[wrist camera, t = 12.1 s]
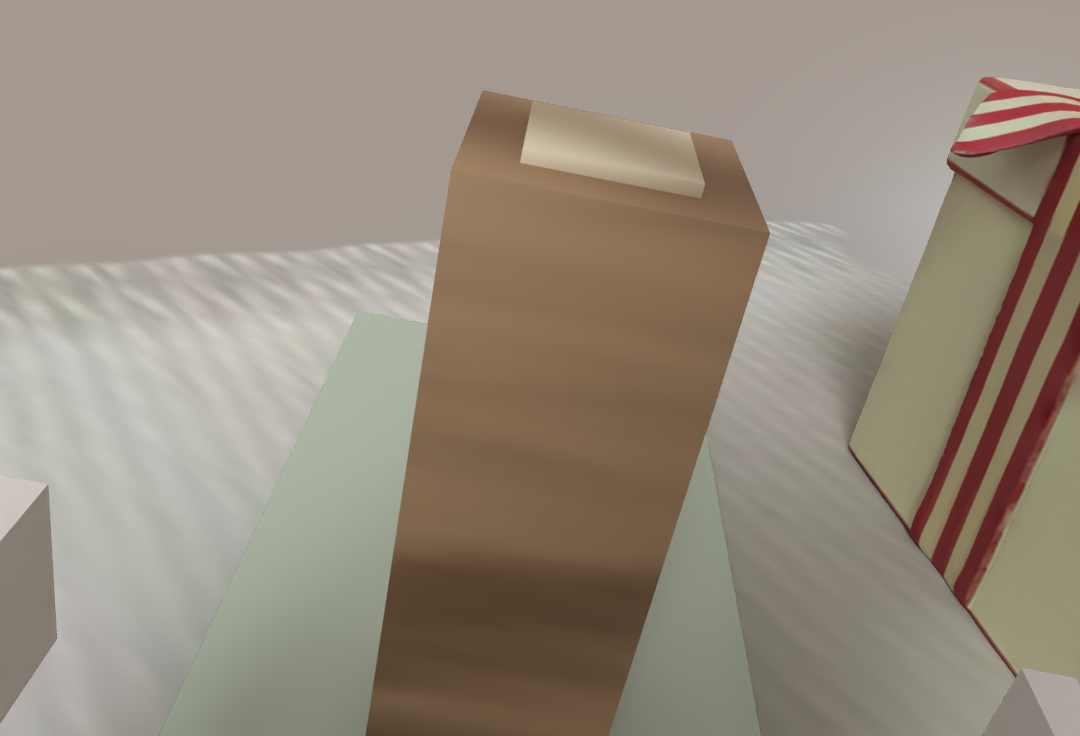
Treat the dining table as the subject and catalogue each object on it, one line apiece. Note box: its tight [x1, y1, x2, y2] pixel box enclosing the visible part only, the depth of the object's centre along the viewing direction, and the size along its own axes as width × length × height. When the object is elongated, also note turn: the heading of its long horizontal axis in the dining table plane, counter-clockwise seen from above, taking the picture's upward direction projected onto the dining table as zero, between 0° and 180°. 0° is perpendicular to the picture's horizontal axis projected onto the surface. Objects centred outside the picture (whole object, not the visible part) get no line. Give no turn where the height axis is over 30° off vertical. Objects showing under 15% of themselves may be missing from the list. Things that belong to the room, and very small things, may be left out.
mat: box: [159, 311, 761, 736], centre depth 31 cm, size 24×14×1 cm, turn 177°
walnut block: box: [366, 91, 770, 736], centre depth 21 cm, size 5×5×14 cm
